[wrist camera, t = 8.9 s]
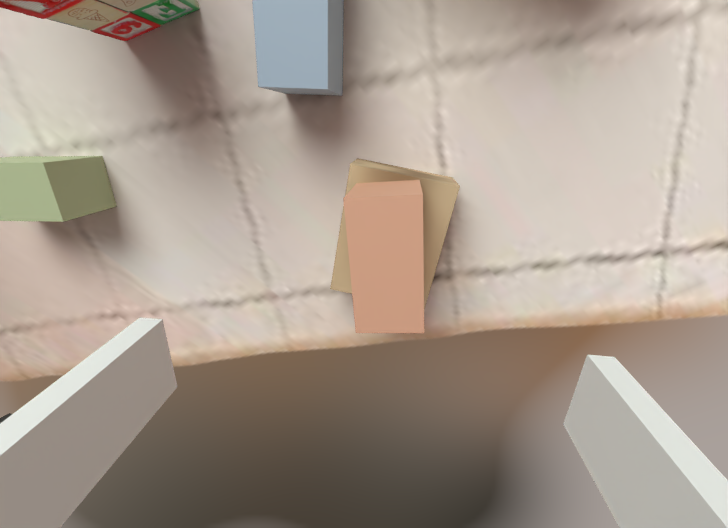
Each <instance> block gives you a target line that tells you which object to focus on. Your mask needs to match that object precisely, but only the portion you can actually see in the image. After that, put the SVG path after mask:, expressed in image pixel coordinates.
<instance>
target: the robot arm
mask: <svg viewBox="0 0 728 528" xmlns="http://www.w3.org/2000/svg"><path fill="white" fill-rule="evenodd" d="M176 388H177V384H176V379H175V374H174V369H173V365H172V360H171V356H170V351H169V347H168V342H167V337H166V333H165V328H164V324H163V319H152V318H139V319H137V320H136V321H135V322H133V323H132V324H131V325H129V326H128V327H127V328H125V329H124V330H123V331H122V332H120V333H119V334H118V335H116V336H115V337H114V338H112V339H111V340H110V341H108V342H107V343H106V344H104V345H103V346H102V347H100V348H99V349H98V350H97V351H95V352H94V353H93V354H91V355H90V356H89V357H87V358H86V359H85V360H83V361H82V362H81V363H79V364H78V365H77V366H75V367H74V368H73V369H71V370H70V371H69V372H68V373H66V374H65V375H64V376H62V377H61V378H60V379H58V380H57V381H56V382H54V383H53V384H52V385H51V386H49V387H48V388H46V389H45V390H44V391H43V392H41V393H40V394H39V395H37V396H36V397H35V398H33V399H32V400H31V401H29V402H28V403H27V404H25V405H24V406H23V407H22V408H20V409H19V410H17V411H16V412H15V413H14V414H7V415H5V416H3V417H1V418H0V528H60V527H61V526H62V524H63V523H64V522H65V521H66V520H67V518H68V517H69V516H70V515H71V514H72V513H73V511H74V510H75V509H76V508H77V507H78V505H79V504H80V503H81V502H82V501H83V499H84V498H85V497H86V496H87V494H88V493H89V492H90V491H91V490H92V488H93V487H94V486H95V485H96V484H97V482H98V481H99V480H100V479H101V478H102V476H103V475H104V474H105V473H106V472H107V470H108V469H109V468H110V467H111V466H112V465H113V463H114V462H115V461H116V460H117V458H118V457H119V456H120V455H121V454H122V452H123V451H124V450H125V449H126V447H127V446H128V445H129V444H130V443H131V442H132V441H133V439H134V438H135V437H136V436H137V434H138V433H139V432H140V431H141V430H142V429H143V427H144V426H145V424H147V423H148V421H149V420H150V419H151V418H152V416H153V415H154V414H155V413H156V412H157V411H158V409H159V408H160V407H161V406H162V405H163V403H164V402H165V401H166V400H167V399H168V397H169V396H170V395H171V394H172V392H173V391H174V390H175V389H176ZM563 425H564V427H565V428H566V430H567V432H568V434H569V436H570V437H571V440H572V441H573V443H574V445H575V447H576V449H577V451H578V452H579V454H580V456H581V458H582V460H583V462H584V463H585V465H586V467H587V469H588V471H589V473H590V474H591V476H592V478H593V480H594V482H595V484H596V485H597V487H598V489H599V491H600V493H601V495H602V497H603V498H604V500H605V502H606V504H607V506H608V508H609V509H610V511H611V513H612V515H613V517H614V518H615V520H616V522H617V524H618V526H619V528H728V480H727V479H726V478H725V477H724V476H723V475H722V474H721V473H720V472H719V471H718V469H716V467H715V466H714V465H713V464H712V463H711V462H710V461H709V460H708V458H707V457H706V456H705V455H704V454H703V453H702V452H701V451H700V450H699V449H698V448H697V446H695V444H694V443H693V442H692V441H691V440H690V439H689V438H688V437H687V436H686V434H685V433H684V432H683V431H682V430H681V429H680V428H679V427H678V426H677V425H676V424H675V422H674V421H673V420H672V419H671V418H670V417H669V416H668V415H667V414H666V413H665V412H664V410H663V409H662V408H661V407H660V406H659V405H658V404H657V403H656V402H655V401H654V400H653V399H652V397H651V396H650V395H649V394H648V393H647V392H646V391H645V390H644V389H643V388H642V386H641V385H640V384H639V383H638V382H637V381H636V380H635V379H634V378H633V377H632V376H631V375H630V373H629V372H628V371H627V370H626V369H625V368H624V367H623V366H622V365H621V364H620V362H619V361H618V360H617V359H616V358H615V357H609V356H596V355H587V357H586V360H585V363H584V366H583V369H582V372H581V375H580V377H579V380H578V383H577V386H576V389H575V392H574V395H573V398H572V401H571V404H570V407H569V409H568V412H567V415H566V418H565V421H564V424H563Z"/></svg>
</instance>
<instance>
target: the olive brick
mask: <svg viewBox="0 0 728 528" xmlns="http://www.w3.org/2000/svg"><path fill="white" fill-rule="evenodd" d="M113 207H116V202H115V199H114V195H113V192H112V188H111V185H110V181H109V178H108V174H107V171H106V167H105V164H104V160H103V157H102V156H61V157H4V158H0V221H51V222H64V221H68V220H71V219H75V218H78V217H82V216H85V215H89V214H92V213H96V212H99V211H103V210H106V209H109V208H113Z"/></svg>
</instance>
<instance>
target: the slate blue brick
mask: <svg viewBox="0 0 728 528" xmlns="http://www.w3.org/2000/svg"><path fill="white" fill-rule="evenodd" d="M253 15H254V29H255V44H256V59H257V73H258V87H261V88H265V89H269V90H273V91H277V92H281V93H285V94H310V95H338V96H342V89H343V18H344V0H253Z"/></svg>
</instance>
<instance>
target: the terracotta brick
mask: <svg viewBox="0 0 728 528" xmlns="http://www.w3.org/2000/svg"><path fill="white" fill-rule="evenodd" d="M343 200H344V211H345V221H346V232H347V243H348V254H349V265H350V275H351V286H352V297H353V308H354V319H355V329H356V333H424V254H423V192H422V188H421V184H420V180H406V181H388V182H370V183H356V184H355V186H354V187H353V188H352V189H351V190H350V191H349V192H348V194H347V195H346V196H345V197H344V198H343Z"/></svg>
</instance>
